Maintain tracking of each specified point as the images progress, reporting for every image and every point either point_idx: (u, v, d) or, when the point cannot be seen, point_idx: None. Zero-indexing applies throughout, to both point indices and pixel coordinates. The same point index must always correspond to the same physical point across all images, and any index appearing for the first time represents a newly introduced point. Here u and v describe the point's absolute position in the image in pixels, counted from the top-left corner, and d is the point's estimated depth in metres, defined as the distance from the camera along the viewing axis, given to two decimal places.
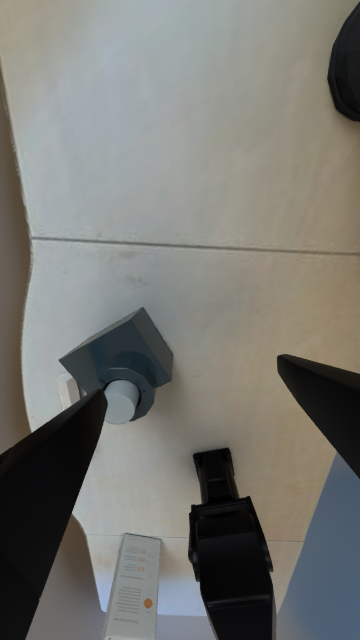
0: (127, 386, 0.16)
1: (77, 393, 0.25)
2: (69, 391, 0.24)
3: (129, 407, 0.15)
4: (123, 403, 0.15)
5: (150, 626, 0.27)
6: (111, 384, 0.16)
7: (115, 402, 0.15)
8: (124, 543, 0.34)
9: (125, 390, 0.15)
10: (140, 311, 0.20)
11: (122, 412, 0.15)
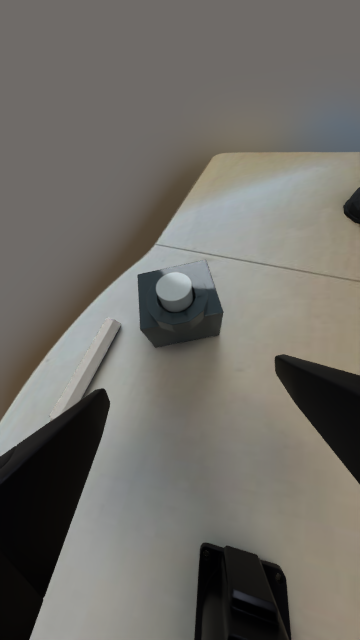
0: None
1: (110, 340, 0.24)
2: (108, 331, 0.23)
3: (187, 286, 0.16)
4: (183, 281, 0.16)
5: None
6: None
7: (176, 279, 0.16)
8: None
9: None
10: None
11: (177, 289, 0.15)
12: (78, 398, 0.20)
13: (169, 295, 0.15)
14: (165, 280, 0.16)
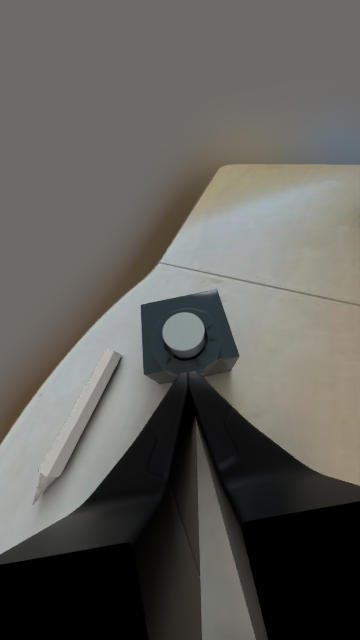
0: None
1: (110, 375, 0.21)
2: (108, 365, 0.21)
3: (199, 332, 0.13)
4: (194, 325, 0.14)
5: None
6: None
7: (186, 322, 0.14)
8: None
9: None
10: None
11: (188, 336, 0.13)
12: (72, 446, 0.18)
13: (178, 343, 0.13)
14: (173, 322, 0.14)
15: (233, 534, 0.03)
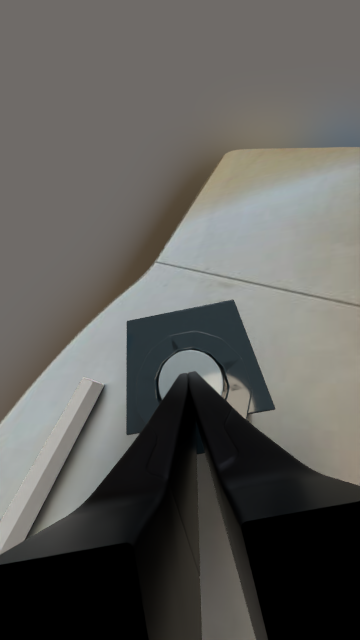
0: None
1: (87, 414, 0.16)
2: (83, 401, 0.16)
3: (215, 385, 0.09)
4: (207, 373, 0.09)
5: None
6: None
7: (195, 367, 0.09)
8: None
9: None
10: None
11: None
12: (27, 528, 0.13)
13: None
14: (175, 366, 0.09)
15: (233, 534, 0.03)
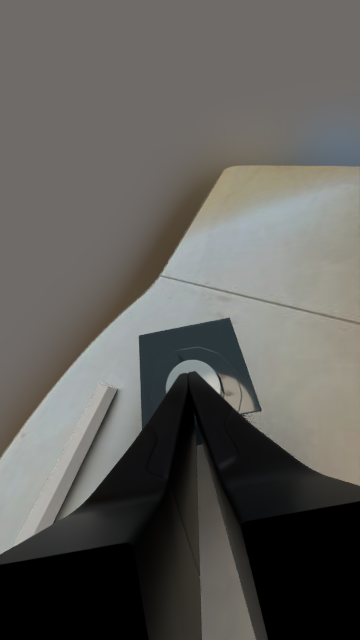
0: None
1: (103, 414, 0.18)
2: (100, 403, 0.18)
3: None
4: (207, 380, 0.10)
5: None
6: None
7: None
8: None
9: None
10: None
11: None
12: (56, 509, 0.15)
13: None
14: None
15: (233, 534, 0.03)
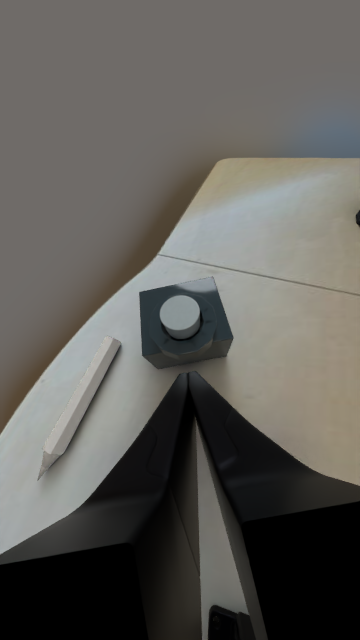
0: None
1: (110, 361, 0.22)
2: (107, 351, 0.22)
3: (194, 313, 0.14)
4: (190, 307, 0.14)
5: None
6: None
7: (183, 304, 0.15)
8: None
9: None
10: None
11: (184, 316, 0.14)
12: (74, 427, 0.19)
13: (175, 323, 0.14)
14: (170, 304, 0.15)
15: (233, 534, 0.03)
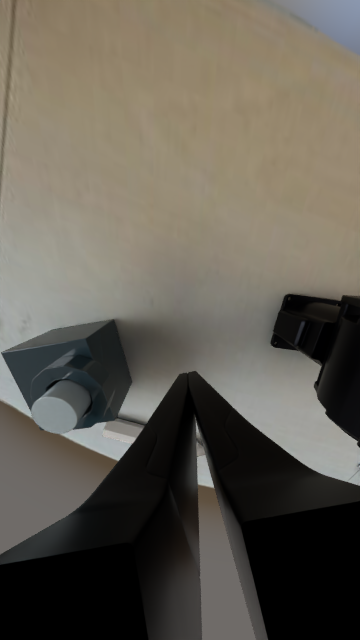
0: (48, 390, 0.13)
1: (127, 425, 0.23)
2: (117, 431, 0.23)
3: (53, 401, 0.12)
4: (46, 405, 0.12)
5: None
6: None
7: (44, 412, 0.12)
8: None
9: (42, 395, 0.13)
10: None
11: (59, 411, 0.12)
12: None
13: (69, 419, 0.13)
14: (46, 424, 0.13)
15: (233, 534, 0.03)
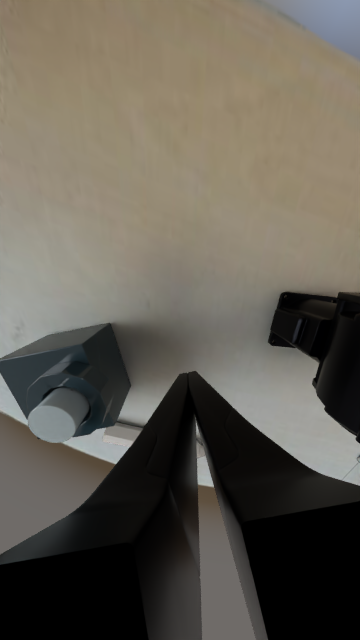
0: None
1: (127, 429, 0.23)
2: (117, 436, 0.22)
3: (50, 410, 0.12)
4: (43, 414, 0.12)
5: None
6: None
7: (40, 421, 0.12)
8: None
9: (38, 404, 0.12)
10: (33, 342, 0.18)
11: (57, 420, 0.12)
12: None
13: (67, 428, 0.12)
14: (43, 433, 0.12)
15: (233, 534, 0.03)
